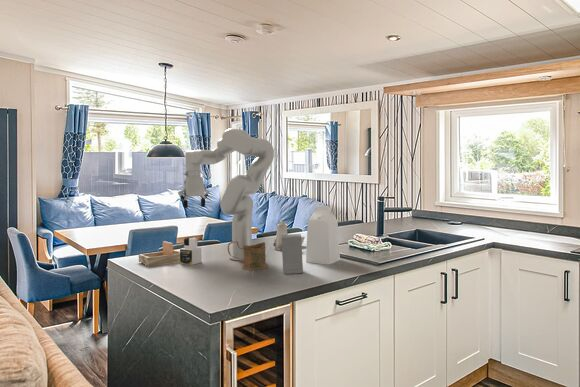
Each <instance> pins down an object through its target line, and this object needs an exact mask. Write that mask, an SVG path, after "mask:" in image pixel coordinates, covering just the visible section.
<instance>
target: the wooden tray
mask: <svg viewBox="0 0 580 387" xmlns="http://www.w3.org/2000/svg"><path fill="white" fill-rule="evenodd" d="M139 262H141V263H143V264H145V265H144V266H146V265H147V266H146V267H148V266H150V267H156V266H155V265H157V266H163V265H170V264H176V263H180V250H176V249H173V254H171V255H163V250H162V251H156V252H148V253H147V252H146V253H140V254H138V263H139ZM141 263H140V264H141ZM143 264H142V265H143Z"/></svg>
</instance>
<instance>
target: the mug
mask: <svg viewBox="0 0 580 387" xmlns="http://www.w3.org/2000/svg"><path fill="white" fill-rule="evenodd" d="M235 242H237V246H238V248H240V247H239V245H238V241H234V242H232V241H231V242H228V244H227V252H228V255H229V257H230V256H231V255H232V254H231V252H230V245H231V244H232V243H235ZM243 247H244V248H240V249H244V260H239V259H238V258H237V257H234V256H231V257H234V258H237V259H238V260H237V261H240V262H241V263H243V264H242V265H241V269H243V270H249V271H257V270H264V269H267V268H268V267H269V265H268V264H267V263H266V261H267V259H266V242H264V241H263V242H260V243H256V244H252V245H251V246H243Z"/></svg>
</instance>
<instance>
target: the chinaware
mask: <svg viewBox="0 0 580 387" xmlns="http://www.w3.org/2000/svg"><path fill="white" fill-rule="evenodd" d="M288 225H289V224H287V223H285V221H284V220H283V219H280V221H279V222H278V223H277V224H276V236H275V237H274V239H273V241H272V242H271V243H272V246H273V247H274V250H276V251H282V235H289V234H288ZM301 237H302V238H301V241H302V244H304V240H305V238H306V236H301Z"/></svg>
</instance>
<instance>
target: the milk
mask: <svg viewBox="0 0 580 387" xmlns="http://www.w3.org/2000/svg"><path fill="white" fill-rule="evenodd" d="M331 210H332V209H331V208H330V206H329V205H320V204H319V205H316V206H315V208H314V210H313V213H312V214H311V215H310V217H309V219H308V220H307V229H306V255H305V262H306V263H311V264H322V265H332V264H334V263H336V262H339V261H340V260H341V256H340V255H341V253H340V240H339V237H340V236H339V225H338V223H339V221H338V220H337V218H336V216H335V215H334V213H333V212H332V211H331Z"/></svg>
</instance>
